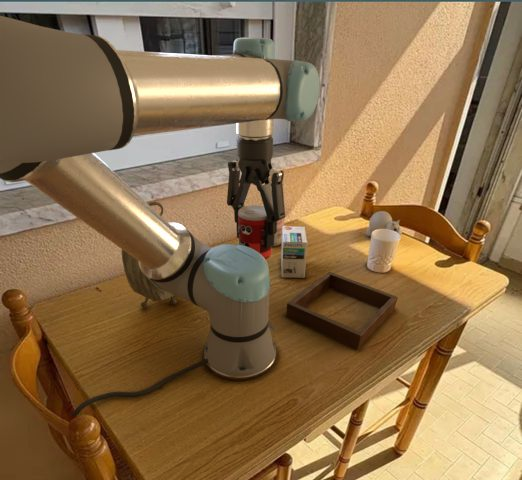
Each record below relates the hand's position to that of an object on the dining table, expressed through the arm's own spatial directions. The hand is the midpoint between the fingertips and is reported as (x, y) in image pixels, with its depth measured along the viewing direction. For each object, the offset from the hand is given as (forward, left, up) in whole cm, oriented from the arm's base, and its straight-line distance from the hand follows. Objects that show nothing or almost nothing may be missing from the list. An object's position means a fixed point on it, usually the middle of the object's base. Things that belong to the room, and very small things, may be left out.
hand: (255, 241), depth 92 cm
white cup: (+33, -20, -14) cm, 41 cm away
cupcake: (+26, +14, -14) cm, 33 cm away
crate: (+5, -23, -14) cm, 27 cm away
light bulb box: (+16, -1, -14) cm, 21 cm away
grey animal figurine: (+51, -13, -14) cm, 54 cm away
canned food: (0, 0, -4) cm, 4 cm away
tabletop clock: (-18, +14, -14) cm, 27 cm away
